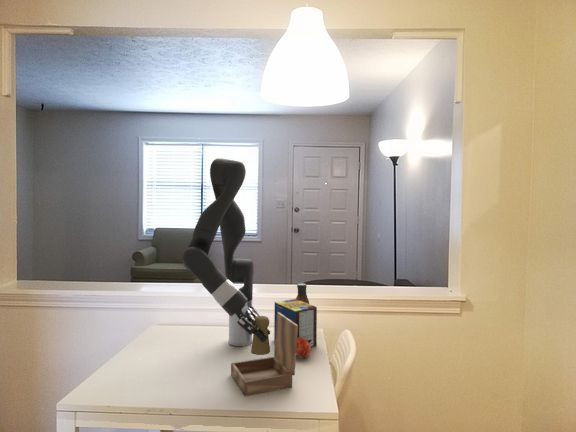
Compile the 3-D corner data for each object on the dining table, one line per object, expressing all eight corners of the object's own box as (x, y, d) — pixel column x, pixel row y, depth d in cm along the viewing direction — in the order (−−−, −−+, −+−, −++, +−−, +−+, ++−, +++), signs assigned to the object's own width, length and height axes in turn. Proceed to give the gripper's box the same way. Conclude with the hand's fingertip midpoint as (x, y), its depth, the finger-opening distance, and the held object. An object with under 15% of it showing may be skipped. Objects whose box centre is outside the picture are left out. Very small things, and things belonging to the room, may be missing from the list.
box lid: (276, 312, 139) (279, 312, 139) (273, 357, 139) (276, 357, 139) (295, 325, 125) (298, 325, 125) (291, 375, 125) (294, 375, 126)
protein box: (294, 334, 173) (295, 298, 172) (316, 346, 160) (317, 306, 159) (273, 339, 167) (273, 301, 166) (294, 351, 154) (295, 310, 154)
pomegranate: (293, 367, 145) (316, 351, 144) (281, 349, 147) (304, 334, 145) (297, 361, 153) (318, 346, 151) (286, 344, 154) (307, 329, 153)
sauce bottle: (311, 328, 182) (312, 283, 181) (306, 332, 176) (307, 286, 175) (298, 325, 185) (298, 282, 184) (292, 330, 179) (293, 284, 178)
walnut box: (230, 375, 133) (231, 363, 133) (274, 368, 139) (274, 356, 139) (244, 396, 120) (244, 382, 119) (292, 387, 125) (292, 374, 125)
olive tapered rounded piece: (267, 355, 125) (268, 319, 125) (248, 354, 126) (249, 318, 126) (272, 349, 131) (272, 314, 131) (253, 347, 132) (254, 313, 132)
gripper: (232, 294, 122) (272, 337, 121) (243, 284, 136) (278, 322, 135) (214, 311, 123) (254, 353, 122) (227, 299, 137) (262, 337, 136)
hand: (266, 337), depth 128 cm, fingers closed on olive tapered rounded piece, 4 cm apart
